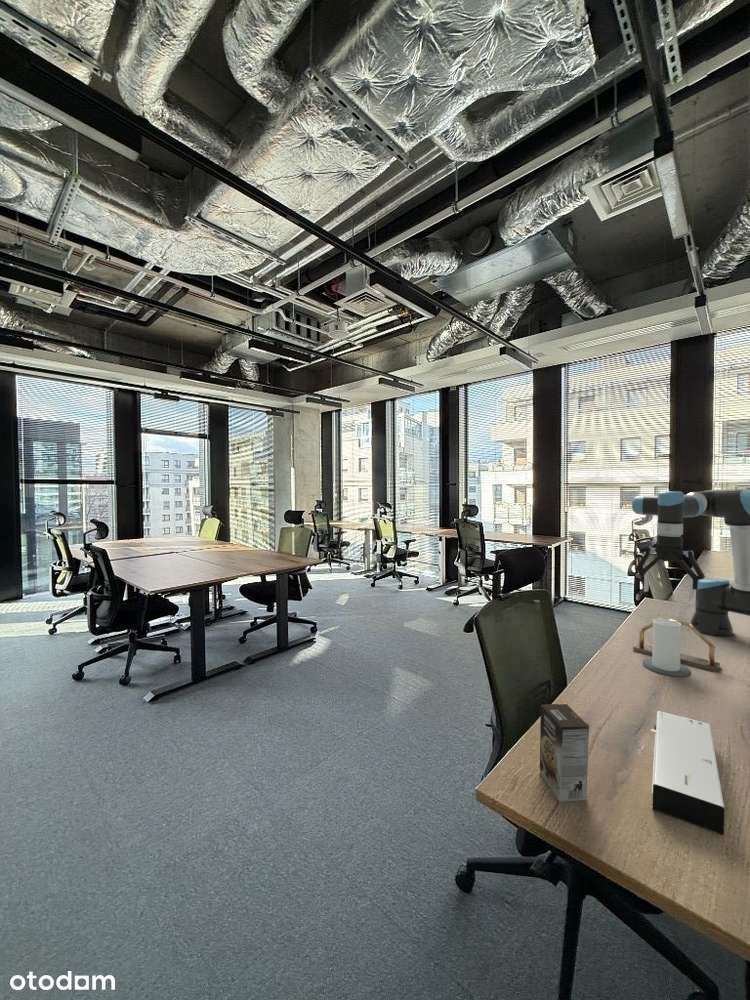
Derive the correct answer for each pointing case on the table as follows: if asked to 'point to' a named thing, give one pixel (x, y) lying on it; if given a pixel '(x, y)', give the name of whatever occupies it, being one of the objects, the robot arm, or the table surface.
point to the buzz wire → (683, 658)
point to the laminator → (686, 772)
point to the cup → (666, 644)
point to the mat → (681, 673)
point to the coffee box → (564, 752)
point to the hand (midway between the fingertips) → (668, 594)
